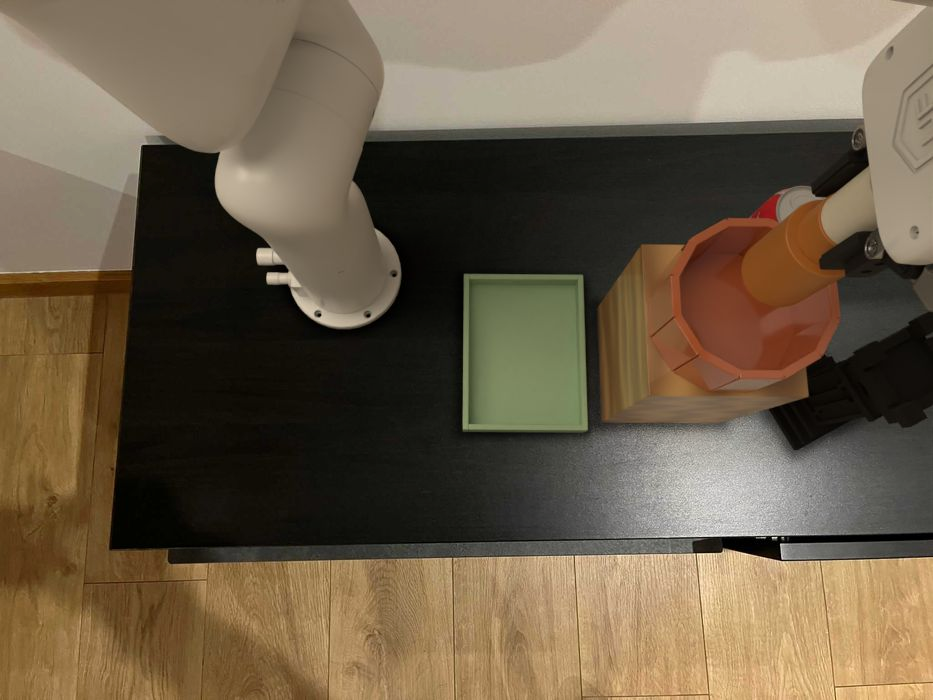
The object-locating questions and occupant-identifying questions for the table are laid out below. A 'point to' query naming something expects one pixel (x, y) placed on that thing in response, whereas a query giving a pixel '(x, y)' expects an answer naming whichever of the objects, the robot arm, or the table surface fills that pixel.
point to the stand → (662, 360)
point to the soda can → (785, 203)
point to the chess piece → (865, 386)
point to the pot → (733, 315)
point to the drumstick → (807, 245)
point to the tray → (524, 353)
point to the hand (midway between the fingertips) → (843, 226)
